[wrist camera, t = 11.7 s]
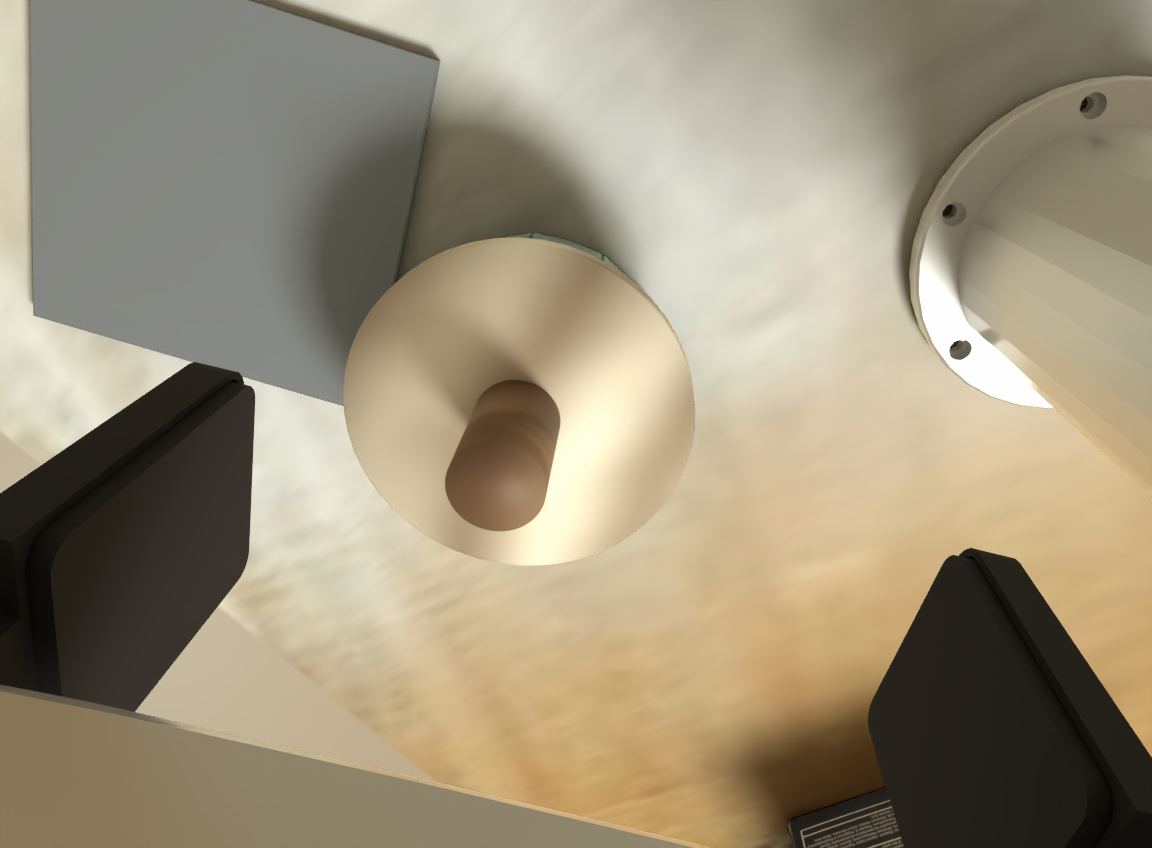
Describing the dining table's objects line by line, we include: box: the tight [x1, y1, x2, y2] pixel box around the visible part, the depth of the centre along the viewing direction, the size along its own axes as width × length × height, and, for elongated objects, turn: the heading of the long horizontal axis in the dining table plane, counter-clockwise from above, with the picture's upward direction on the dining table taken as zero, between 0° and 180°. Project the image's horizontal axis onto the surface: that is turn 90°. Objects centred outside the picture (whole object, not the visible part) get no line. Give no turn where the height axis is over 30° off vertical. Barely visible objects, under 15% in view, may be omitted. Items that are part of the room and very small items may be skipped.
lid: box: [343, 237, 695, 565], centre depth 28 cm, size 13×13×6 cm
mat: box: [30, 0, 440, 406], centre depth 33 cm, size 15×15×1 cm
